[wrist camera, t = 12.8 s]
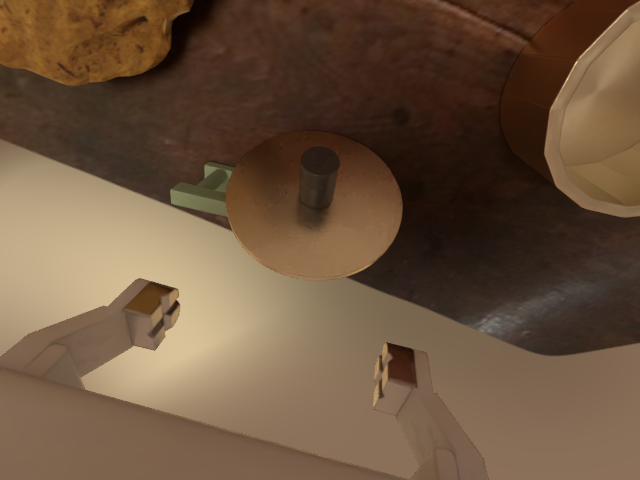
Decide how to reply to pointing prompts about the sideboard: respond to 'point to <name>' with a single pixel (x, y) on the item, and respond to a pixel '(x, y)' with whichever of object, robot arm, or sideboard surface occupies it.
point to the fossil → (87, 37)
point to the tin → (581, 105)
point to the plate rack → (205, 190)
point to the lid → (313, 205)
